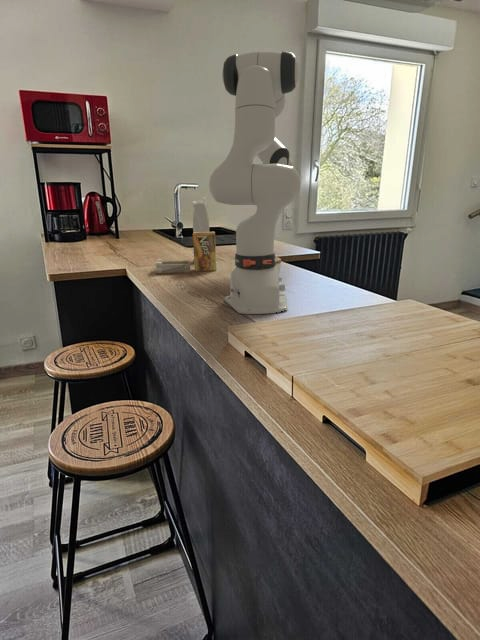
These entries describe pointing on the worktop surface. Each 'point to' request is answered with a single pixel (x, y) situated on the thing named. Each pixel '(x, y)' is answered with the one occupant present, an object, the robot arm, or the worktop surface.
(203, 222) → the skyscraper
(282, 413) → the worktop surface
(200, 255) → the candy box
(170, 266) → the channel
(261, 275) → the robot arm
